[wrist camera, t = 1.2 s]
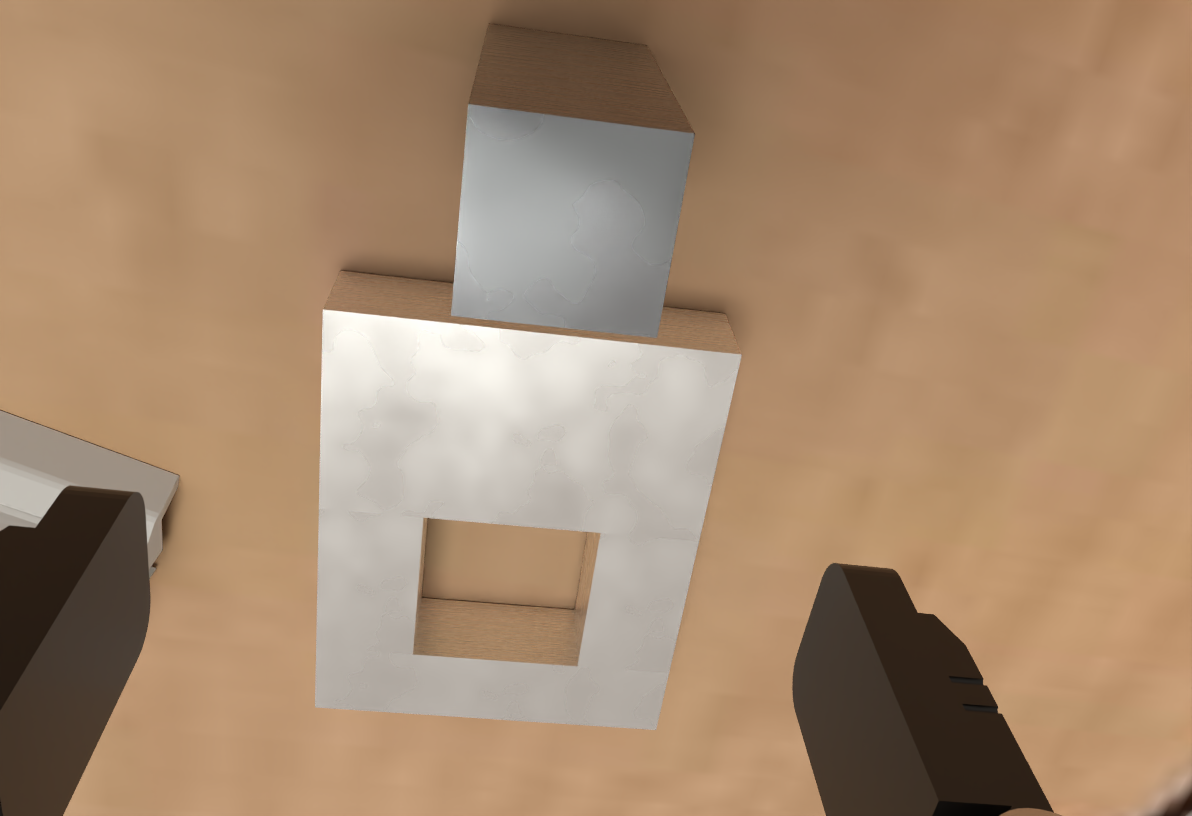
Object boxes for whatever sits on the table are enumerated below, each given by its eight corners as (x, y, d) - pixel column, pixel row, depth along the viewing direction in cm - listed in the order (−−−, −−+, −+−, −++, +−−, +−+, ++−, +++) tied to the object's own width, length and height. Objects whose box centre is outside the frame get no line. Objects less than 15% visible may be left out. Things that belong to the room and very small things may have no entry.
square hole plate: (340, 270, 32) (323, 309, 29) (725, 313, 33) (741, 354, 30) (330, 648, 39) (315, 707, 36) (648, 671, 40) (655, 729, 37)
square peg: (488, 23, 29) (468, 103, 20) (646, 45, 29) (695, 133, 20) (475, 179, 31) (451, 315, 22) (622, 198, 31) (657, 338, 22)
